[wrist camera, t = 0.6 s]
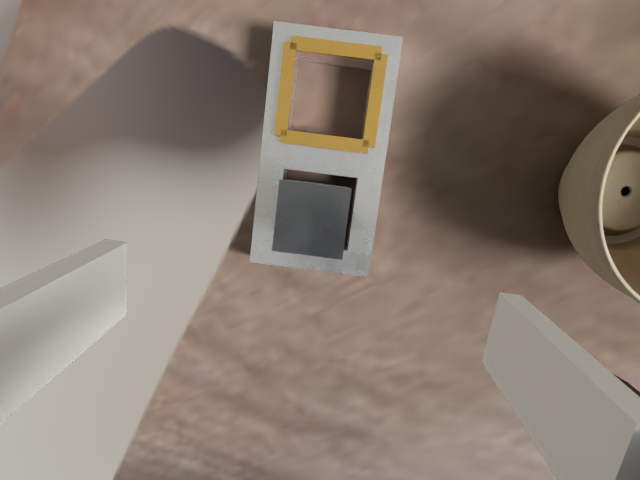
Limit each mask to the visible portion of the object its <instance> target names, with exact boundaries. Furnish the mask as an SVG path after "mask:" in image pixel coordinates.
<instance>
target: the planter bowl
mask: <svg viewBox="0 0 640 480" xmlns="http://www.w3.org/2000/svg"><path fill="white" fill-rule="evenodd" d="M623 187H628V188H629V190H630V192H629V194H628V195H626V196H623V195H621V190H622V188H623ZM558 201H559V208H560V211H561V215H562V219H563V223H564V226H565V230H566V232H567V234H568V237H569V239H570V241H571V243H572V245H573V246H574V248H575V249H576V251H577V252H578V254H579V255H580V257H581V258H582V259H583V260H584V261H585V263H586V264H587V265H588V266H589V267H590V268H591V269H592V270H593V271H594V272H595V273H596V274H598V275H599V276H600V277H601V278H602V279H603V280H605V281H606V282H608V283H609V284H610V285H612V286H613V287H615V288H616V289H618V290H619V291H621V292H623V293H624V294H626V295H628V296H630V297H632V298H633V299H634V300H636V301H637V302H639V303H640V95H638V96H636V97H634V98H633V99H631V100H629V101H627V102H626V103H624V104H623V105H621V106H620V107H618V108H617V109H616V110H614V111H613V112H612V113H610V114H609V115H608V116H607V117H605V118H604V119H603V120H602V121H601V122H600V123H599V124H598V125H597V126H596V127H594V129H593V130H592V131H591V132H590V133H589V134H588V135H587V136H586V137H585V139H584V140H583V141H582V142H581V144H580V145H579V146H578V148H577V149H576V151H575V152H574V154H573V156H572V158H571V160H570V161H569V163H568V164H567V166H566V168H565V170H564V172H563V174H562V177H561V180H560V184H559V190H558Z"/></svg>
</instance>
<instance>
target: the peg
mask: <svg viewBox="0 0 640 480" xmlns="http://www.w3.org/2000/svg"><path fill="white" fill-rule="evenodd" d="M351 191H352V189H351V188H349V187H346V186H340V185H332V184H324V183H316V182H308V181H300V180H279V189H278V198H277V207H276V216H275V225H274V235H273V244H272V251H277V252H285V253H293V254H300V255H308V256H316V257H324V258H332V259H340V260H342V258H343V250H344V243H345V236H346V228H347V221H348V213H349V206H350V199H351Z"/></svg>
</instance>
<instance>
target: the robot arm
mask: <svg viewBox="0 0 640 480" xmlns="http://www.w3.org/2000/svg"><path fill="white" fill-rule="evenodd" d="M126 314H127V242H122V241H114V240H107V239H105V240H103V241H101V242H99V243H97V244H95V245H92V246H90V247H88V248H86V249H84V250H82V251H79V252H78V253H75V254H73V255H71V256H69V257H67V258H64V259H62V260H60V261H58V262H56V263H54V264H51V265H49V266H47V267H45V268H43V269H41V270H38V271H36V272H34V273H32V274H30V275H28V276H25V277H23V278H21V279H19V280H17V281H15V282H13V283H10V284H8V285H6V286H4V287H2V288H0V424H2V423H3V422H4V421H5V420H6V419H7V418H8V417H9V416H11V415H12V414H13V413H14V412H15V411H16V410H17V409H19V408H20V407H21V406H22V405H23V404H25V403H26V402H27V401H28V400H29V399H30V398H31V397H32V396H34V395H35V394H36V393H37V392H38V391H39V390H41V389H42V388H43V387H44V386H45V385H46V384H47V383H49V382H50V381H51V380H52V379H53V378H54V377H55V376H57V375H58V374H59V373H60V372H61V371H62V370H63V369H65V368H66V367H67V366H68V365H69V364H70V363H71V362H73V361H74V360H75V359H76V358H77V357H78V356H80V355H81V354H82V353H83V352H84V351H85V350H86V349H88V348H89V347H90V346H91V345H92V344H93V343H94V342H96V341H97V340H98V339H99V338H100V337H101V336H102V335H104V334H105V333H106V332H107V331H108V330H109V329H110V328H112V327H113V326H114V325H115V324H116V323H117V322H118V321H120V320H121V319H122V318H123V317H124V316H125V315H126ZM482 363H483V365H484V366H485V368H486V370H487V371H488V373H489V374H490V376H491V377H492V379H493V380H494V382H495V383H496V385H497V387H498V388H499V390H500V391H501V393H502V394H503V396H504V397H505V399H506V400H507V402H508V404H509V405H510V407H511V408H512V410H513V411H514V413H515V414H516V416H517V417H518V419H519V421H520V422H521V424H522V425H523V427H524V428H525V430H526V431H527V433H528V434H529V436H530V438H531V439H532V441H533V442H534V444H535V445H536V447H537V448H538V450H539V451H540V453H541V454H542V456H543V458H544V459H545V461H546V462H547V464H548V465H549V467H550V468H551V470H552V471H553V473H554V475H555V476H556V478H557V479H558V480H640V392H638V391H637V390H636V389H635V388H634V387H633V386H631V385H630V384H629V383H628V382H626V381H624V380H622V379H621V378H619V377H617V376H616V375H614V374H612V373H611V372H610V371H609V370H608V369H606V368H605V367H604V366H603V365H602V364H601V363H600V362H598V361H597V360H596V359H595V358H594V357H593V356H591V355H590V354H589V353H588V352H587V351H586V350H584V349H583V348H582V347H581V346H580V345H579V344H577V343H576V342H575V341H574V340H573V339H572V338H570V337H569V336H568V335H567V334H566V333H565V332H564V331H562V330H561V329H560V328H559V327H558V326H557V325H555V324H554V323H553V322H552V321H551V320H550V319H548V318H547V317H546V316H545V315H544V314H543V313H541V312H540V311H539V310H538V309H537V308H536V307H534V306H533V305H532V304H531V303H530V302H529V301H528V300H526V299H525V298H524V297H523V296H522V295H516V294H508V293H501V292H500V293H499V297H498V301H497V305H496V309H495V312H494V316H493V320H492V324H491V328H490V332H489V335H488V339H487V343H486V347H485V351H484V354H483V358H482Z"/></svg>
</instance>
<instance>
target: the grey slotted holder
mask: <svg viewBox="0 0 640 480" xmlns="http://www.w3.org/2000/svg"><path fill="white" fill-rule="evenodd" d="M402 43H403V37H400V36H391V35H383V34H375V33H367V32H359V31H351V30H343V29H335V28H326V27H318V26H310V25H302V24H294V23H286V22H278V21H274V25H273V35H272V44H271V54H270V64H269V74H268V84H267V94H266V104H265V114H264V124H263V134H262V144H261V154H260V165H259V174H258V184H257V194H256V203H255V213H254V223H253V233H252V243H251V253H250V262H254V263H262V264H269V265H277V266H285V267H293V268H301V269H309V270H316V271H324V272H332V273H340V274H348V275H356V276H363V277H368V275H369V269H370V262H371V255H372V248H373V241H374V234H375V228H376V221H377V214H378V207H379V200H380V193H381V186H382V180H383V173H384V166H385V159H386V152H387V145H388V139H389V132H390V125H391V118H392V111H393V104H394V97H395V91H396V84H397V77H398V70H399V63H400V56H401V49H402ZM299 61H303V62H312V63H320V64H328V65H336V66H344V67H352V68H360V69H368V70H370V77H369V85H368V92H367V99H366V107H365V114H364V121H363V129H362V136H361V139H355V138H347V137H339V136H331V135H323V134H315V133H307V132H299V131H291V130H292V121H293V112H294V103H295V94H296V85H297V76H298V67H299ZM287 170H295V171H303V172H311V173H319V174H327V175H335V176H343V177H351V178H356V180H355V187H354V195H353V202H352V209H351V217H350V224H349V231H348V239H347V246H344V250H343V258H342V260H340V259H332V258H324V257H316V256H308V255H300V254H293V253H285V252H277V251H272V244H273V235H274V225H275V216H276V207H277V198H278V189H279V180H286V175H287Z"/></svg>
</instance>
